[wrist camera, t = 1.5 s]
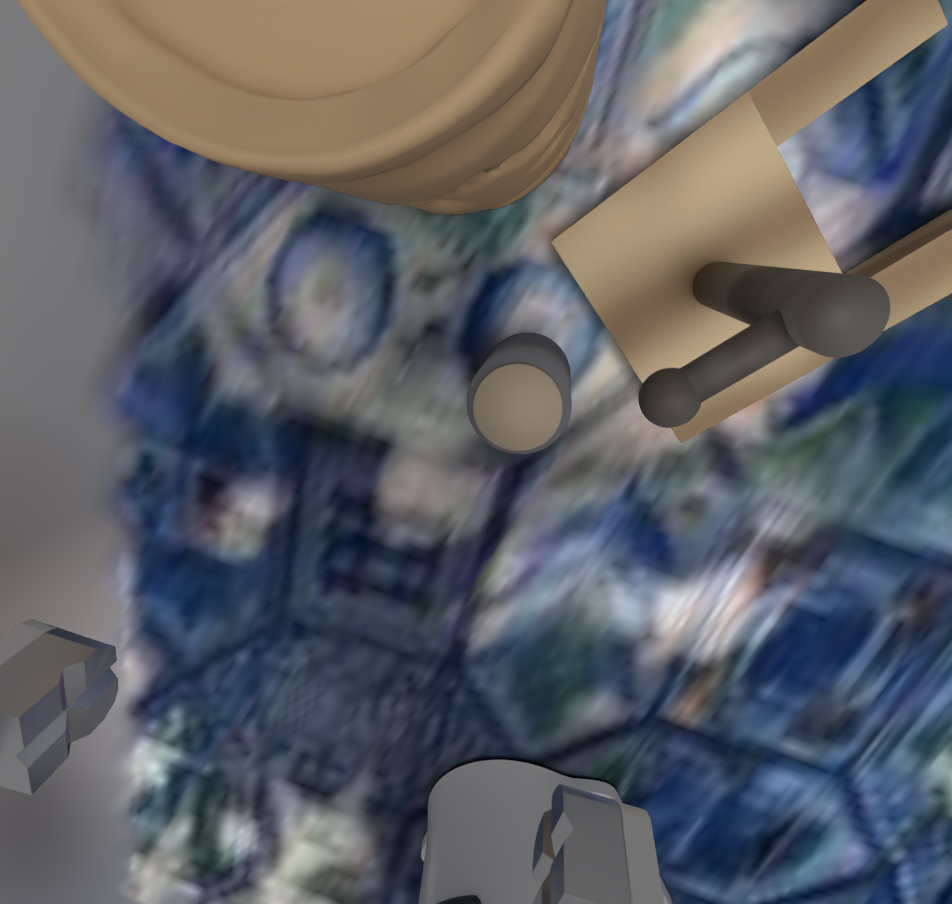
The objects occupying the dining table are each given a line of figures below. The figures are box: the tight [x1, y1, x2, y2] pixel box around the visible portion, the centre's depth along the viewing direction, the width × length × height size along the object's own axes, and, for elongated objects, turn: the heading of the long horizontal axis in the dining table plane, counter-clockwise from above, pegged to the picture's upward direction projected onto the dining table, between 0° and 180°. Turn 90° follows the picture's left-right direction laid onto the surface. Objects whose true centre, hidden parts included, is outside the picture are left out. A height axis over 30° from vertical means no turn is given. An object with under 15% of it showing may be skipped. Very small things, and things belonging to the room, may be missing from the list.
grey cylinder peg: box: [467, 333, 571, 454], centre depth 26 cm, size 5×5×7 cm
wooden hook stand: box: [551, 0, 952, 443], centre depth 19 cm, size 12×16×14 cm
